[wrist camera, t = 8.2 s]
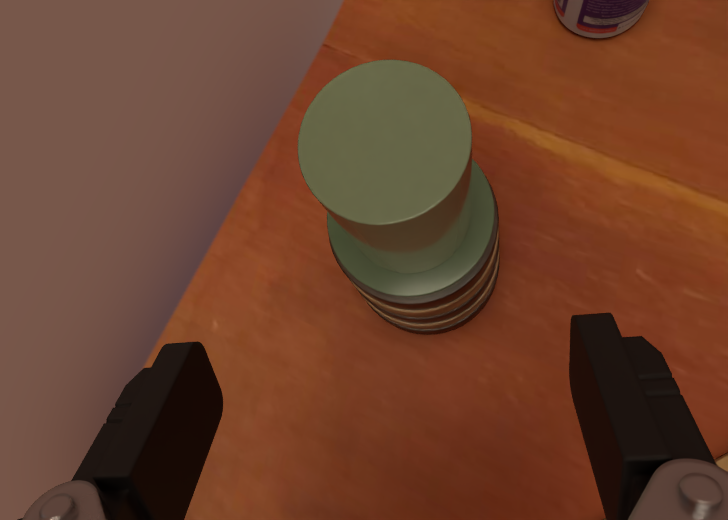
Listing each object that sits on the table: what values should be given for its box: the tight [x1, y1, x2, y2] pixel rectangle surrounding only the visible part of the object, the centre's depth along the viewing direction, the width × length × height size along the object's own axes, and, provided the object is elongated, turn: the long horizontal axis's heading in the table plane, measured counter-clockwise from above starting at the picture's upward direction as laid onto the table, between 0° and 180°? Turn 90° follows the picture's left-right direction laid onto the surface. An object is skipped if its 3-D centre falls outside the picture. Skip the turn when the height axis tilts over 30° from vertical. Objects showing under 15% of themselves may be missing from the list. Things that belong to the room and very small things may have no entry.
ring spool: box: [298, 60, 495, 300], centre depth 21 cm, size 7×7×8 cm
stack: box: [328, 176, 499, 335], centre depth 30 cm, size 8×8×10 cm
